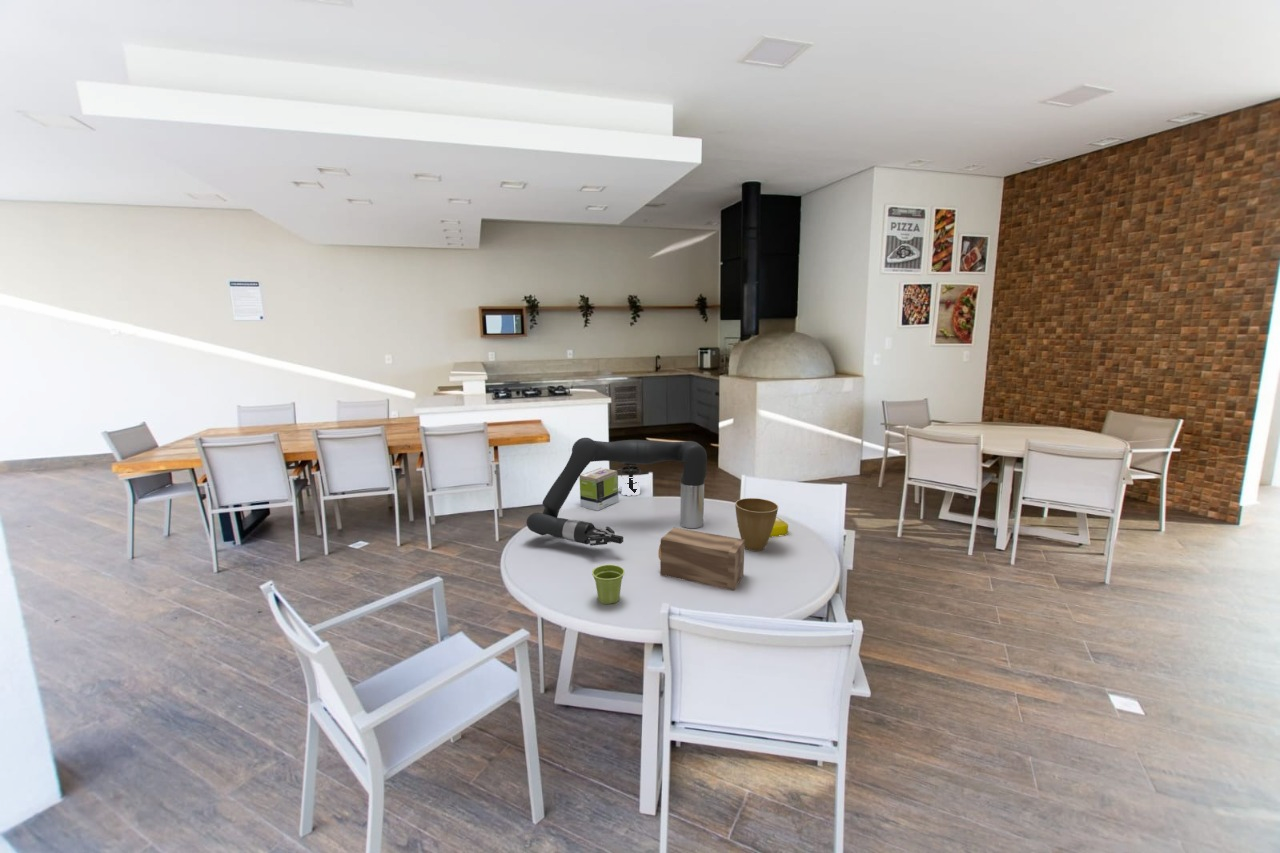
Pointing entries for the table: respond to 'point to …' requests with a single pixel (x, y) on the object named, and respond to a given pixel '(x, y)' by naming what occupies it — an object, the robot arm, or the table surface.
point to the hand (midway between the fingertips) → (622, 540)
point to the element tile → (779, 528)
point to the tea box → (598, 488)
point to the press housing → (702, 558)
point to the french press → (630, 474)
